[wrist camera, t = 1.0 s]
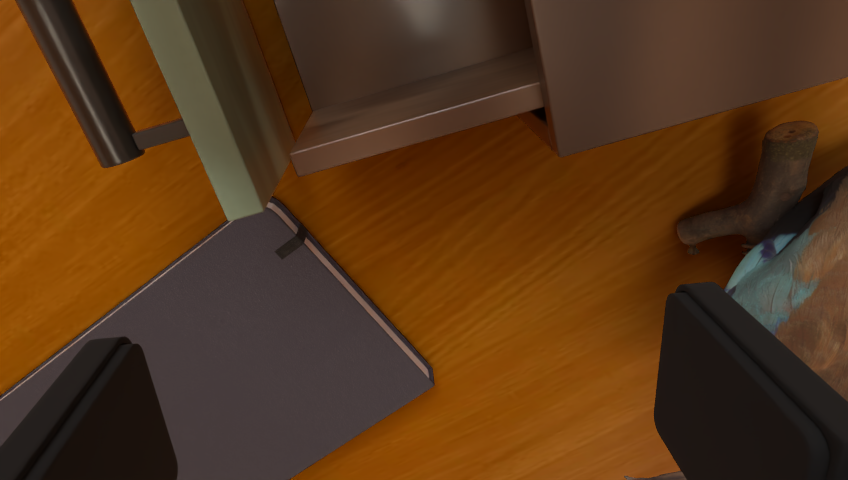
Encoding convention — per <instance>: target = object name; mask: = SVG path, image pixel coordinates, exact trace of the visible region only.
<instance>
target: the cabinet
mask: <svg viewBox="0 0 848 480" xmlns="http://www.w3.org/2000/svg"><path fill="white" fill-rule="evenodd" d="M524 2H525V7H526V12H527V18H528V23H529V28H530V34H531V39H532V44H533V49H534V55H535V60H536V65H537V71H538V76H539V81H540V86H541V92H542V97H543V102H544V107H543V108H539V109H536V110H532V111H529V112H525V113H522V114H518V115H517V116H518V117H519V118H520V119H521V120H522V121H523V122H524V123H525V124H526V125H527V126H528V127H529V128H530V129H531V130H532V131H533V132H534V133H535V134H536V135H537V136H538V137H539V138H540V139H541V140H542V141H543V142H544V143H545V144H546V145H547V146H548V147H549V148H550V149H551V150H553V151H554V152H555V153H556V154H557V155H558V156H559V157H564V156H568V155H571V154H575V153H579V152H582V151H586V150H589V149H593V148H596V147H600V146H603V145H607V144H611V143H614V142H618V141H621V140H625V139H628V138H632V137H635V136H639V135H643V134H646V133H650V132H653V131H657V130H660V129H664V128H668V127H671V126H675V125H678V124H682V123H685V122H689V121H692V120H696V119H700V118H703V117H707V116H710V115H714V114H717V113H721V112H724V111H728V110H732V109H735V108H739V107H742V106H746V105H749V104H753V103H756V102H760V101H764V100H767V99H771V98H774V97H778V96H781V95H785V94H788V93H792V92H796V91H799V90H803V89H806V88H810V87H813V86H817V85H820V84H824V83H828V82H831V81H835V80H838V79H842V78H845V77H848V0H524Z"/></svg>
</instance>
